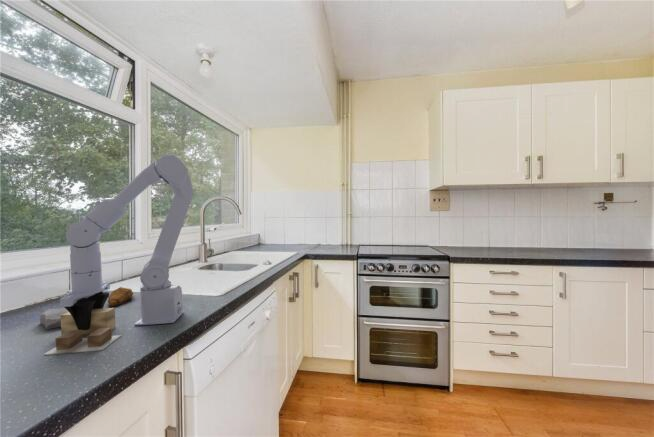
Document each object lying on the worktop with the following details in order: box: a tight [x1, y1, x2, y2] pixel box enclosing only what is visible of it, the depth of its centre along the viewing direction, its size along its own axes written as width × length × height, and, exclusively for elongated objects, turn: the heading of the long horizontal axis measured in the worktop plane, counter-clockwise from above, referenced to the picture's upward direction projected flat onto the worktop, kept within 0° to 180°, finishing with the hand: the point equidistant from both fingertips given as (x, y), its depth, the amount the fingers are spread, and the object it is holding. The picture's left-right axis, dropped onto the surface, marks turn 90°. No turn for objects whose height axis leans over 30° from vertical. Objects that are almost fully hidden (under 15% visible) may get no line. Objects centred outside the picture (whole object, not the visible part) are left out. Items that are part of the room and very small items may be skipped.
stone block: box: [39, 307, 69, 330], centre depth 78 cm, size 12×5×10 cm
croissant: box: [107, 286, 134, 308], centre depth 94 cm, size 14×7×5 cm, turn 17°
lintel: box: [60, 307, 116, 336], centre depth 70 cm, size 10×3×5 cm, turn 98°
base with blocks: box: [43, 328, 122, 356], centre depth 63 cm, size 11×7×3 cm, turn 98°
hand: (89, 326), depth 70 cm, fingers closed on lintel, 3 cm apart
